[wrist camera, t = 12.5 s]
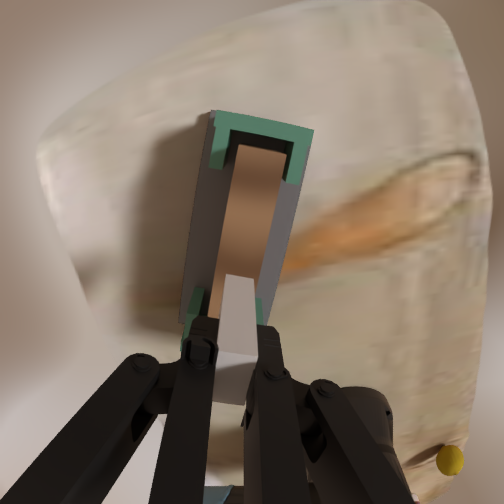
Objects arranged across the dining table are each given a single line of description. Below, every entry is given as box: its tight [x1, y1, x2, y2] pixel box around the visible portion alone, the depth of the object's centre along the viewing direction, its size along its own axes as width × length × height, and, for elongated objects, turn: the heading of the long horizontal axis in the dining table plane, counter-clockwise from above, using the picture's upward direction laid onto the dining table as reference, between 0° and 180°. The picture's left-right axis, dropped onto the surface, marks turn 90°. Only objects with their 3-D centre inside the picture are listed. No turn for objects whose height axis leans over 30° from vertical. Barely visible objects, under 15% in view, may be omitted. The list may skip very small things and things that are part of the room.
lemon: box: [436, 445, 464, 476], centre depth 42 cm, size 6×6×8 cm
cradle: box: [178, 110, 314, 351], centre depth 27 cm, size 21×9×6 cm, turn 169°
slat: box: [208, 143, 287, 319], centre depth 25 cm, size 16×3×8 cm, turn 169°
